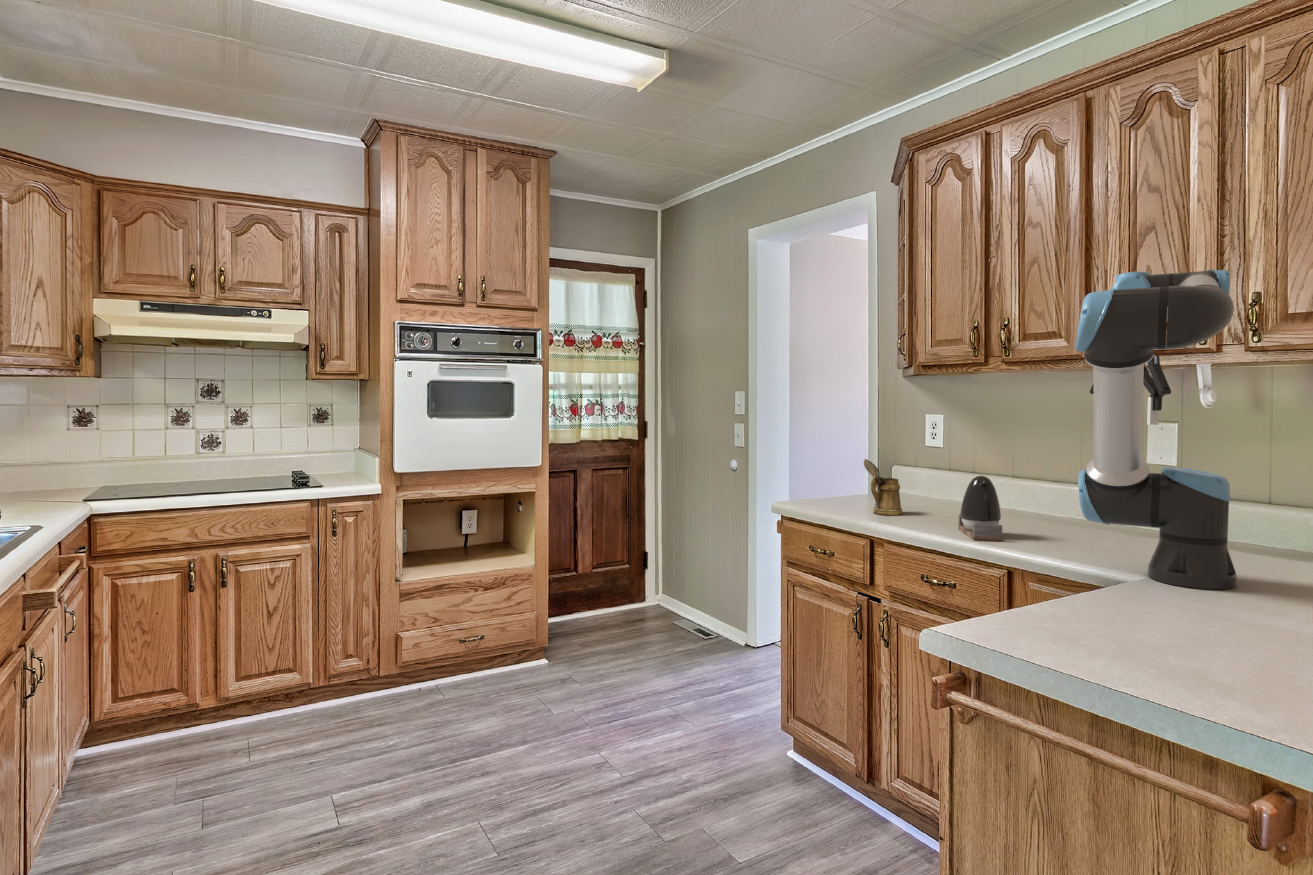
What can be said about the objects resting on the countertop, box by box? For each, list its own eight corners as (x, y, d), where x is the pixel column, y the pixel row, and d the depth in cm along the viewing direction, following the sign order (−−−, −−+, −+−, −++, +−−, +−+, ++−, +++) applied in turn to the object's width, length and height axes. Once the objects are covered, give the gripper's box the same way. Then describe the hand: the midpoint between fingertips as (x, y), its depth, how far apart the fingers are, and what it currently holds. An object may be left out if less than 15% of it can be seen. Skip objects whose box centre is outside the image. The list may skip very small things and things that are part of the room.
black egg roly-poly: (963, 533, 202) (965, 477, 201) (957, 526, 212) (958, 473, 211) (1004, 535, 200) (1006, 478, 199) (995, 527, 210) (997, 473, 209)
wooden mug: (855, 513, 243) (856, 457, 241) (891, 510, 247) (892, 456, 246) (872, 517, 234) (872, 460, 233) (908, 514, 239) (909, 458, 237)
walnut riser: (1001, 541, 198) (1002, 525, 197) (974, 540, 199) (974, 524, 198) (984, 529, 213) (984, 515, 213) (958, 529, 214) (958, 514, 214)
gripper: (1191, 333, 173) (1187, 425, 174) (1098, 340, 197) (1095, 421, 198) (1167, 332, 171) (1163, 425, 172) (1076, 339, 195) (1073, 421, 196)
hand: (1127, 423), depth 185 cm, fingers open, 13 cm apart
